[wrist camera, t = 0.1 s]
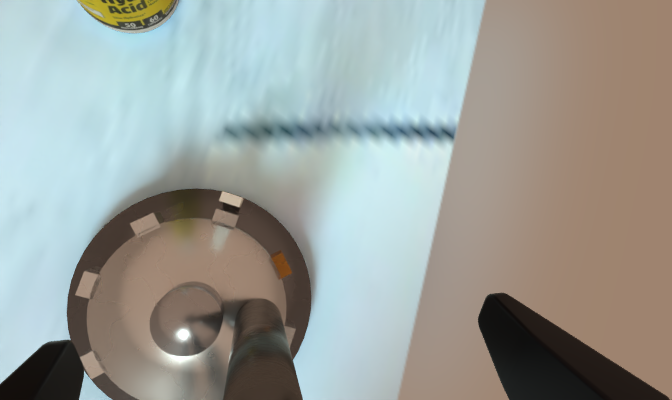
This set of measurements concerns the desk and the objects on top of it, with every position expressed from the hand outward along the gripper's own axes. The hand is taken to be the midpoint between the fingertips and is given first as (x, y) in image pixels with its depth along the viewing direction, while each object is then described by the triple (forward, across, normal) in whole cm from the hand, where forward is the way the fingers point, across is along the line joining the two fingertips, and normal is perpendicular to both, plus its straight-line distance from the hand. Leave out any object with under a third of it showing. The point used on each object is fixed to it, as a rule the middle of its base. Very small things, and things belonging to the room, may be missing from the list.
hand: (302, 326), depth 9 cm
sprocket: (+10, +4, +10) cm, 15 cm away
